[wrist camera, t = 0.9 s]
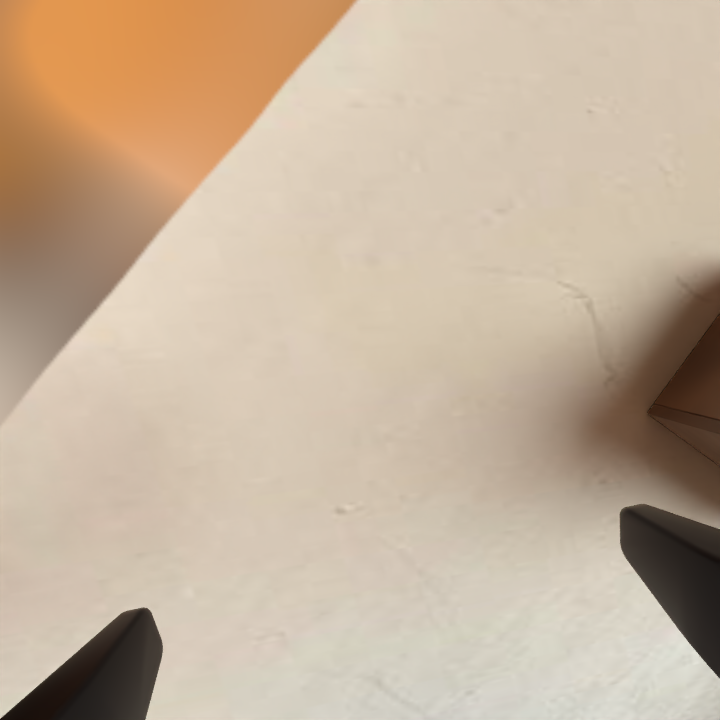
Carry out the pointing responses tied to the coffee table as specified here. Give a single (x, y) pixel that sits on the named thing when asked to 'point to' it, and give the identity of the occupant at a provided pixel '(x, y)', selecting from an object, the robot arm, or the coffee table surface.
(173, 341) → the coffee table surface
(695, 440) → the box
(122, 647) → the robot arm
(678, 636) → the coffee table surface
